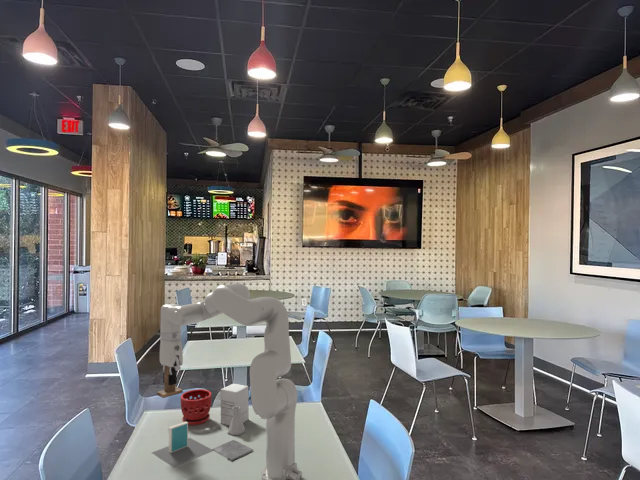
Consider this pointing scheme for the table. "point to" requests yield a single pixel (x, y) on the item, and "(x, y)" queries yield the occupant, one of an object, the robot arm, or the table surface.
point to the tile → (178, 437)
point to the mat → (182, 453)
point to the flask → (236, 423)
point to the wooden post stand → (168, 386)
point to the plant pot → (196, 406)
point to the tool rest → (232, 450)
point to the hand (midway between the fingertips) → (170, 383)
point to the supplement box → (234, 402)
